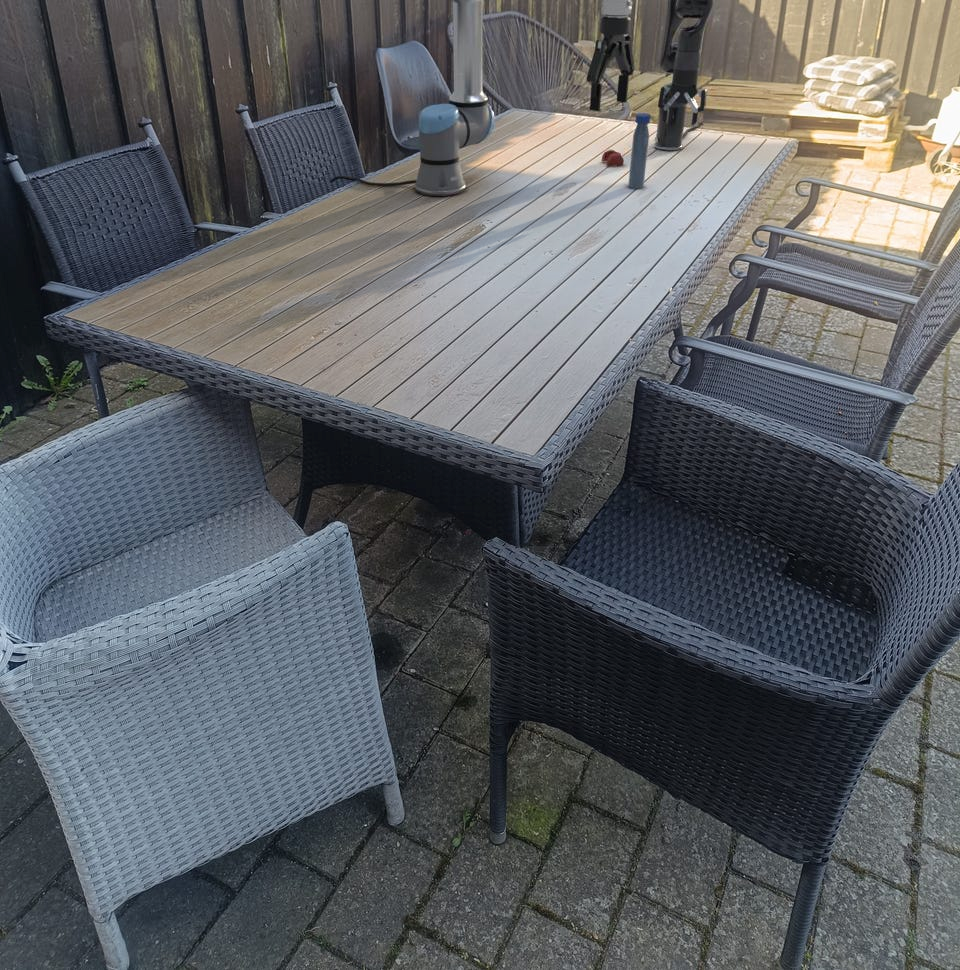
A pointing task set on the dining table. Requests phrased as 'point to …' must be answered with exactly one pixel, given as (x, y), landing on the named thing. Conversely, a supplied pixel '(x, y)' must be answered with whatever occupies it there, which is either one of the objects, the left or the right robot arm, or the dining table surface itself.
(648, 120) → the cap
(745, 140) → the dining table surface
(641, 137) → the bottle
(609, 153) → the dental model
